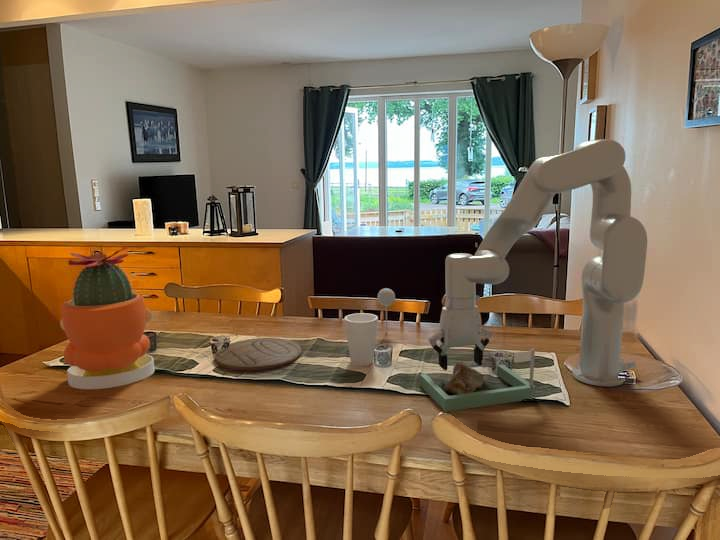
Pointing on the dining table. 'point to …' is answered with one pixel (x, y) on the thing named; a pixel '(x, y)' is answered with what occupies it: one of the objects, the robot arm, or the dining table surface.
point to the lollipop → (386, 299)
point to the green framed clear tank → (490, 397)
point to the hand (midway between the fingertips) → (460, 366)
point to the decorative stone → (464, 380)
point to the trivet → (258, 354)
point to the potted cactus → (105, 327)
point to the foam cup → (361, 337)
